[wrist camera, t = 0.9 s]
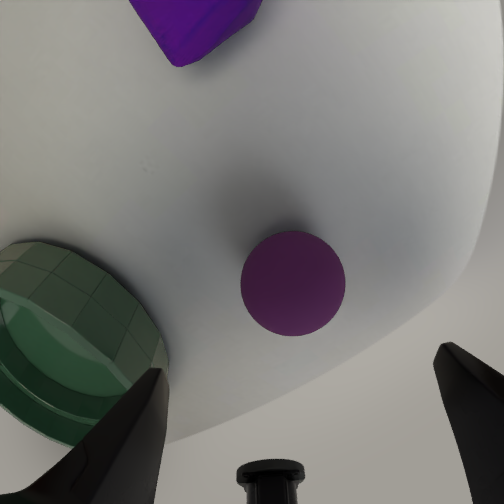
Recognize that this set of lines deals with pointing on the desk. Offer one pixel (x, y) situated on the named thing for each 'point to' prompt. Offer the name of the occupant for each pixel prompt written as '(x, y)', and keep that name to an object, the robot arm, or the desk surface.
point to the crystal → (193, 24)
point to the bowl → (68, 341)
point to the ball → (292, 283)
